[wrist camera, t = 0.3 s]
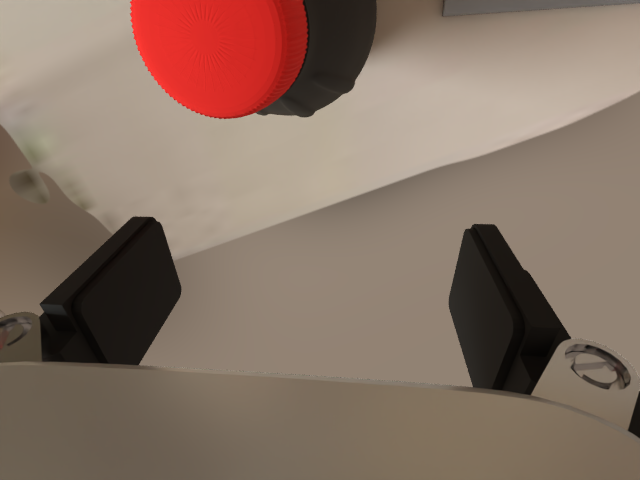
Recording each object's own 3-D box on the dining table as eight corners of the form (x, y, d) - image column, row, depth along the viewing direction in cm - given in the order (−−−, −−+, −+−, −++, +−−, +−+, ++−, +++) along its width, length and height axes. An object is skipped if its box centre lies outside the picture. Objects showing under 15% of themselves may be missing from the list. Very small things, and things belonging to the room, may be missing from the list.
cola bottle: (371, -47, 30) (438, -281, 5) (362, 64, 35) (376, 215, 10) (273, -48, 31) (-90, -269, 6) (277, 60, 35) (88, 197, 10)
